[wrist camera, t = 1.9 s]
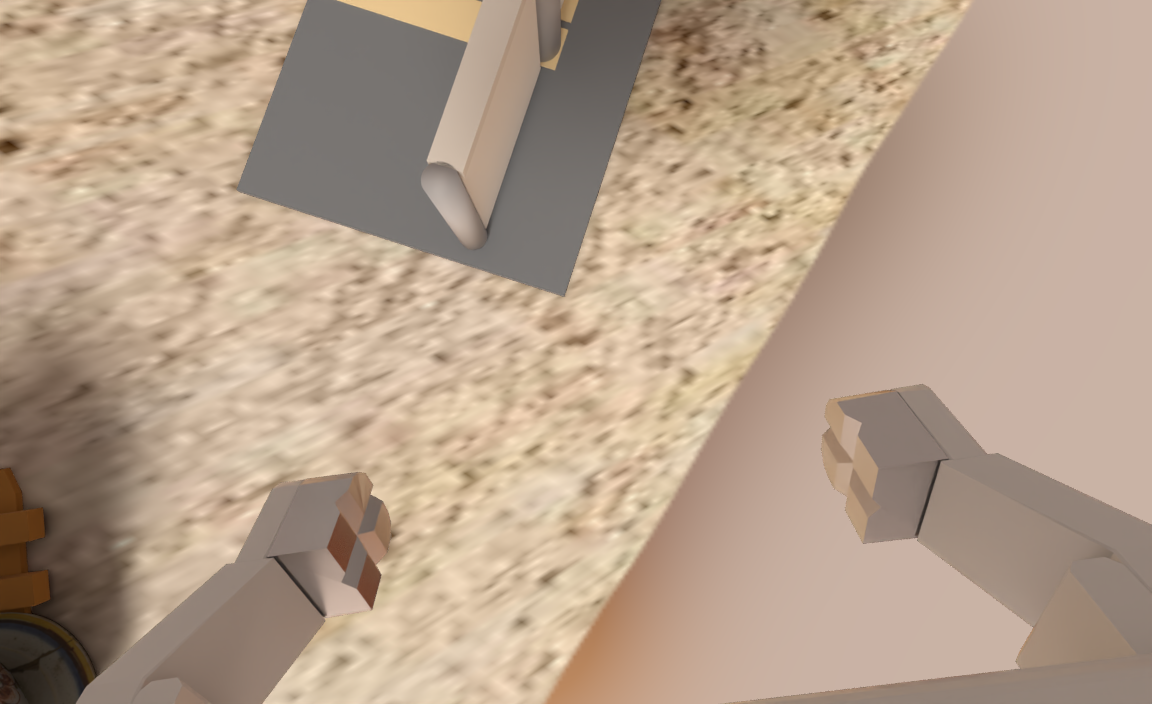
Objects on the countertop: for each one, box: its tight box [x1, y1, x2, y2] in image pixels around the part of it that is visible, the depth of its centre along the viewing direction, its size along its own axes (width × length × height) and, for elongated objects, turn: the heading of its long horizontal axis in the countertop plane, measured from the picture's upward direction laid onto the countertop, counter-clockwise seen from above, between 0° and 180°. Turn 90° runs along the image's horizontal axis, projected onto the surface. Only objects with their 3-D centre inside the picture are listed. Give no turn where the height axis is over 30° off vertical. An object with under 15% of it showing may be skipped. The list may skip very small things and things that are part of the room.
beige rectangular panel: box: [421, 0, 541, 250], centre depth 29 cm, size 2×11×9 cm, turn 162°
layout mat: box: [237, 0, 661, 297], centre depth 34 cm, size 20×25×1 cm
